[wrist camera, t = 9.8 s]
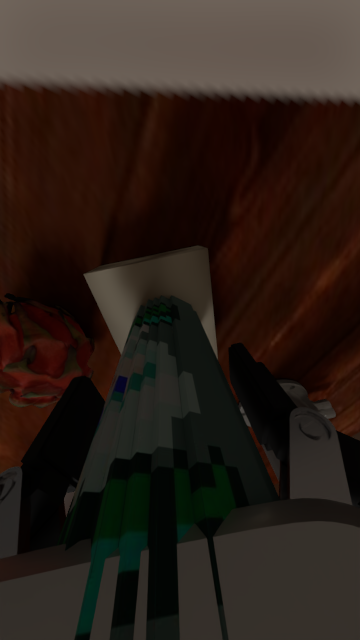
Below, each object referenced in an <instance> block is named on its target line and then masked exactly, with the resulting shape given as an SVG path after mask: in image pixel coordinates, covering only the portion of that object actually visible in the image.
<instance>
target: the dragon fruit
mask: <svg viewBox="0 0 360 640" xmlns="http://www.w3.org/2000/svg"><path fill="white" fill-rule="evenodd" d="M4 297H6V298H8V299H11V300H14V301H16V302H14V303H13V302H11V301H10V302H4V303H3V302H2V301H1V300H0V393H3V392H7V391H10V392H12V393H11V394H10V396H9V401H10V402H11V403H12V404H13V405H15V406H18V407H24V406H28V405H31V404H33V405H35V406H37V407H38V408H42V407H45V406H47V405H49V404H52V403H54V402H57V401H59V400H60V398H61V396H62V395H63V393H64V392H65V390H66V388H67V387H68V385H69V384H70V382H71V380H72V379H73V378H74V377H79V376H84V375H85V376H86V377H89V378H90V379H91V378H92V374H93V372H94V371H93V370H92V369H91V368H89V367H88V365H87V362H88V360H89V358H90V356H91V354H92V353H93V352H94V340H93V338H86V337H85V334H84V333H83V331H82V329H81V328H80V325H79V324H78V323H77V322H76V321H75V317H74V316H72V315H71V314H69V313H68V312H67V311H66V310H64V309H63V308H62V307H61V306H57V305H55V306H56V307H57V309H55V308H52V307H48V306H45V305H43V304H41V303H39V302H37V301H34V300H31V299H27V298H22V297H15V296H14V295H12V294H10V293H7V294H6V295H5V296H4ZM19 302H20V303H19ZM13 304H14V307H15V312H14V313H11V310H12V306H13Z"/></svg>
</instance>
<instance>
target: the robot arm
mask: <svg viewBox="0 0 360 640" xmlns="http://www.w3.org/2000/svg"><path fill="white" fill-rule="evenodd" d="M229 369H230V381H231V384H232V386H233V388H234V390H235V392H236V395H237V397H238V399H239V401H240V403H239V405H238V407H239V409H240V411H241V413H242V416H243V418H244V420H245V422H246V425H248V426H251V427H252V429H253V431H254V433H255V435H256V437H257V440H258V442H259V443H260V445H262V446H263V449H264V451H265V453H266V455H267V457H268V459H269V461H270V463H271V465H272V468H273V470H274V472H275V474H276V476H277V478H278V480H279V499H280V501H274V502H269V503H263V504H257V505H252V506H246V507H241V508H235V509H232V511H231V512H230V513H229V514H228V516H227V517H226V518H225V520H224V521H223V522H222V524H221V525H220V527H219V528H218V530H217V531H216V533H215V535H214V536H213V541H214V548H215V554H216V561H217V567H218V574H219V580H220V587H221V593H222V600H223V606H224V613H225V619H226V626H227V632H228V639H229V640H360V441H359V440H356V439H354V438H352V437H350V436H348V435H345V434H343V433H341V432H339V431H337V430H335V427H334V426H333V425H332V423H331V422H330V421H329V420H328V418H333V417H335V416H336V413H335V411H334V410H333V408H332V407H331V404H330V402H329V401H328V400H327V399H322V400H318V401H315V402H313V401H310V400H309V398H308V394H307V391H306V390H305V388H304V387H303V386H302V385H301V384H300V383H298V382H296V381H293V380H287V379H281V380H276V379H275V378H274V377H273V375H272V374H271V373H270V372H269V370H268V369H267V368H266V367H265V365H264V364H263V363H262V362H257V363H256V361H255V360H254V359H253V357H252V356H251V355H250V353H249V352H248V351H247V349H246V348H245V347H244V345H243V344H242V343H237V344H232V345H231V347H230V348H229ZM104 405H105V401H104V399H103V398H102V396H101V395H100V393H99V392H98V390H97V389H96V387H95V386H94V384H93V383H92V381H91V379H90V378H89V377H86V376H85V375H84V376H79V377H74V378H73V379H72V380H71V382H70V384H69V385H68V387H67V388H66V390H65V392H64V393H63V395H62V396H61V398H60V400H59V401H58V403H57V404H56V406H55V408H54V409H53V411H52V412H51V414H50V416H49V417H48V419H47V420H46V422H45V424H44V425H43V427H42V428H41V430H40V432H39V433H38V435H37V436H36V438H35V439H34V441H33V443H32V444H31V446H30V447H29V449H28V451H27V452H26V454H25V455H24V457H23V459H22V460H21V462H22V463H23V465H22V466H21V468H20V467H13V468H10V469H8V470H6V471H4V472H3V473H1V474H0V640H74V639H75V634H76V630H77V625H78V620H79V616H80V611H81V606H82V602H83V597H84V592H85V588H86V583H87V578H88V574H89V569H90V564H91V538H90V539H86V540H81V541H79V542H77V543H76V544H75V545H73V546H72V547H70V548H69V549H67V550H66V551H65V547H66V544H62V545H58V546H57V543H58V540H59V537H60V534H61V531H62V528H63V526H64V523H65V520H66V515H65V506H64V497H65V495H66V492H67V493H69V492H74V491H75V490H76V487H77V484H78V481H79V478H80V475H81V473H82V470H83V467H84V464H85V461H86V458H87V455H88V452H89V449H90V446H91V443H92V440H93V437H94V434H95V431H96V428H97V425H98V422H99V420H100V417H101V414H102V411H103V408H104ZM119 560H120V553H119V548H117V549H116V550H115V551H114V552H112V553H111V554H110V555H109V556H108V557H107V558H106V559H105V563H104V569H103V574H102V579H101V584H100V589H99V594H98V599H97V604H96V609H95V614H94V619H93V624H92V629H91V635H90V640H109V639H110V631H111V623H112V615H113V607H114V599H115V592H116V584H117V576H118V568H119ZM148 563H149V548H148V546H146V547H145V548H144V549H143V550H142V551H141V558H140V569H139V580H138V592H137V603H136V614H135V626H134V637H133V640H146V620H147V592H148ZM177 563H178V594H179V628H180V640H223V639H222V632H221V626H220V619H219V613H218V607H217V600H216V594H215V587H214V581H213V575H212V568H211V562H210V555H209V549H208V543H207V538H206V536H205V535H204V534H203V532H202V531H201V530H200V529H199V528H198V526H197V525H196V524H195V523H194V524H193V526H192V527H191V528H190V529H189V530H188V531H187V532H186V534H185V535H184V536H183V537H182V538H181V540H180V541H179V542H178V543H177Z"/></svg>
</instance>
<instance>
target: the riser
mask: <svg viewBox="0 0 360 640" xmlns="http://www.w3.org/2000/svg"><path fill="white" fill-rule="evenodd" d="M83 275H84V277H85V279H86V281H87V283H88V285H89V287H90V289H91V292H92V294H93V296H94V298H95V300H96V302H97V304H98V306H99V309H100V311H101V313H102V315H103V317H104V319H105V321H106V323H107V326H108V328H109V330H110V332H111V334H112V336H113V338H114V340H115V343H116V345H117V347H118V349H119V351H120V353H121V355H122V352H123V349H124V346H125V343H126V340H127V337H128V334H129V331H130V328H131V325H132V323H133V320H134V318H135V316H136V314H137V312H138V310H139V307H140V305H142V306H146V303H147V301H148V299H150V300H152V301H153V300H154V298H155V297H156V298H158V299H159V298H160V296H161V295H162V296H164V297H166V298H168V299H170V297H171V295H172V296H174V297H176V298H179V299H181V300H183V301H185V302H187V303H189V304H191V306H192V308H193V310H194V311H196V312H197V315H198V317H199V319H200V321H201V324H202V326H203V328H204V330H205V333H206V335H207V337H208V339H209V341H210V344H211V346H212V348H213V350H214V353H215V355H216V357H217V359H218V356H217V345H216V334H215V323H214V312H213V301H212V290H211V278H210V267H209V256H208V248H205V247H202V246H198V245H197V246H193V247H188V248H183V249H178V250H174V251H169V252H164V253H159V254H155V255H150V256H145V257H140V258H135V259H131V260H126V261H121V262H116V263H112V264H107V265H102V266H99V267H97V268H95V269H93V270H91V271H89V272H87V273H85V274H83Z"/></svg>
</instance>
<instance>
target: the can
mask: <svg viewBox="0 0 360 640" xmlns="http://www.w3.org/2000/svg"><path fill="white" fill-rule="evenodd" d="M274 501H280V499H279V496H278V494H277V492H276V490H275V487H274V485H273V483H272V481H271V478H270V476H269V474H268V472H267V469H266V467H265V465H264V463H263V460H262V458H261V456H260V454H259V451H258V449H257V447H256V445H255V442H254V440H253V438H252V436H251V434H250V431H249V429H248V427H247V425H246V422H245V420H244V418H243V416H242V413H241V411H240V409H239V407H238V404H237V402H236V400H235V398H234V395H233V393H232V391H231V389H230V386H229V384H228V382H227V380H226V377H225V375H224V373H223V371H222V368H221V366H220V364H219V362H218V359H217V357H216V355H215V353H214V350H213V348H212V346H211V344H210V341H209V339H208V337H207V335H206V333H205V330H204V328H203V326H202V324H201V321H200V319H199V317H198V315H197V312H196V311H194V310H193V308H192V306H191V304H189V303H187V302H185V301H183V300H181V299H179V298H176V297H174V296H172V295H171V297H170V299H168V298H166V297H164V296H162V295H161V296H160V298H159V299H158V298H156V297H155V298H154V300H153V301H152V300H150V299H148V301H147V303H146V306H142V305H140V307H139V310H138V312H137V314H136V316H135V318H134V320H133V323H132V325H131V328H130V331H129V334H128V337H127V340H126V343H125V346H124V349H123V352H122V355H121V358H120V361H119V364H118V367H117V370H116V372H115V375H114V378H113V381H112V384H111V387H110V390H109V393H108V396H107V399H106V402H105V405H104V408H103V411H102V414H101V417H100V420H99V422H98V425H97V428H96V431H95V434H94V437H93V440H92V443H91V446H90V449H89V452H88V455H87V458H86V461H85V464H84V467H83V470H82V473H81V475H80V478H79V481H78V484H77V487H76V490H75V493H74V496H73V499H72V502H71V505H70V508H69V511H68V514H67V517H66V520H65V523H64V526H63V528H62V531H61V534H60V537H59V540H58V543H57V546H58V545H62V544H66V547H65V551H66V550H67V549H69V548H70V547H72V546H73V545H75V544H76V543H77V542H79V541H81V540H86V539H90V538H91V564H90V569H89V574H88V578H87V583H86V588H85V592H84V597H83V602H82V606H81V611H80V616H79V620H78V625H77V630H76V634H75V639H74V640H90V635H91V629H92V624H93V619H94V614H95V609H96V604H97V599H98V594H99V589H100V584H101V579H102V574H103V569H104V563H105V559H106V558H107V557H108V556H109V555H110V554H111V553H112V552H114V551H115V550H116V549H117V548H119V553H120V560H119V568H118V576H117V584H116V592H115V599H114V607H113V615H112V623H111V631H110V639H109V640H133V637H134V626H135V614H136V603H137V592H138V580H139V569H140V558H141V551H142V550H143V549H144V548H145V547H146V546H148V548H149V563H148V592H147V620H146V640H180V628H179V594H178V563H177V543H178V542H179V541H180V540H181V538H182V537H183V536H184V535H185V534H186V532H187V531H188V530H189V529H190V528H191V527H192V526H193V524H194V523H195V524H196V525H197V526H198V528H199V529H200V530H201V531H202V532H203V534H204V535H205V536H206V538H207V543H208V549H209V555H210V562H211V568H212V575H213V581H214V587H215V594H216V600H217V607H218V613H219V619H220V626H221V632H222V639H223V640H229V639H228V632H227V626H226V619H225V613H224V606H223V600H222V593H221V587H220V580H219V574H218V567H217V561H216V554H215V548H214V541H213V536H214V535H215V533H216V531H217V530H218V528H219V527H220V525H221V524H222V522H223V521H224V520H225V518H226V517H227V516H228V514H229V513H230V512H231V511H232V509H235V508H241V507H246V506H252V505H257V504H263V503H269V502H274Z"/></svg>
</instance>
